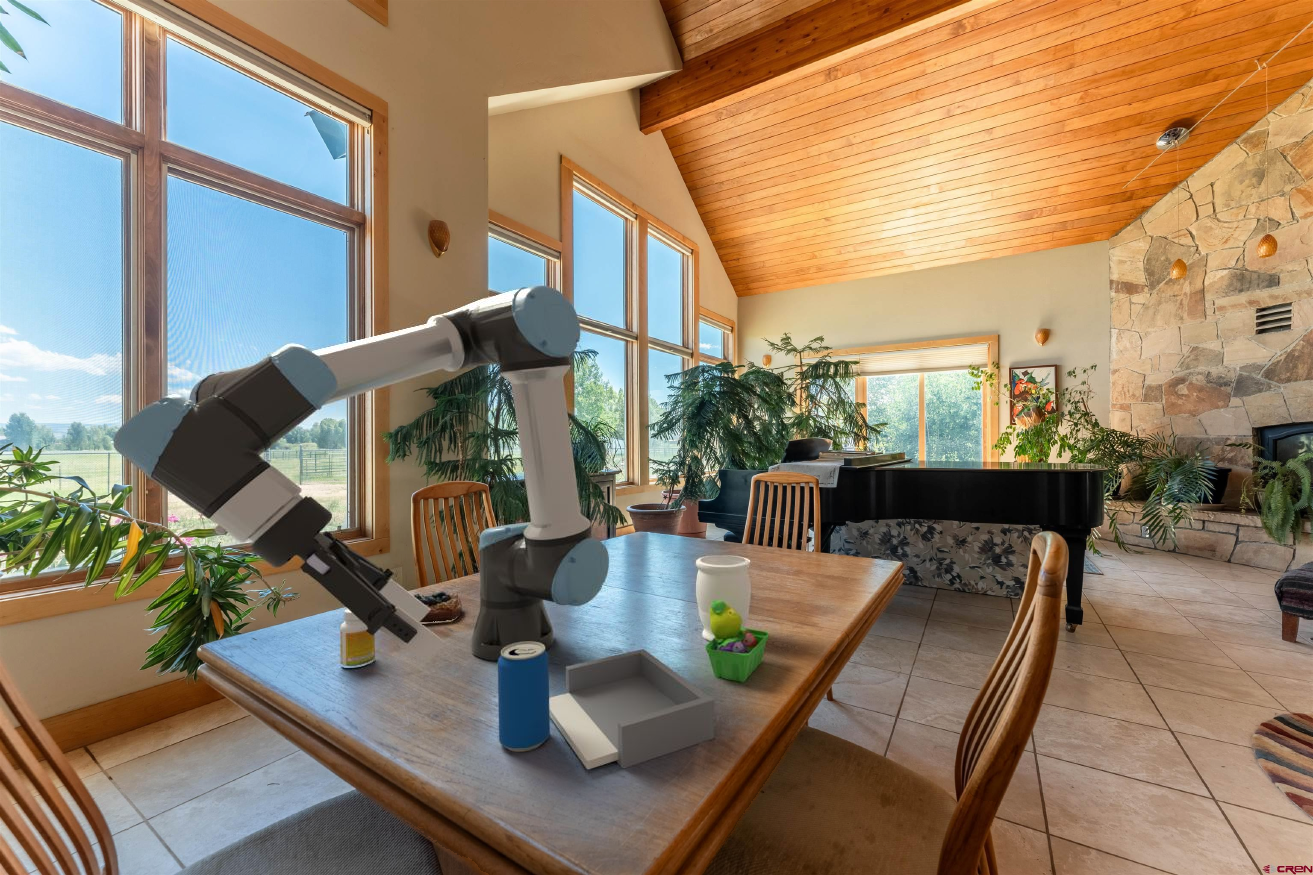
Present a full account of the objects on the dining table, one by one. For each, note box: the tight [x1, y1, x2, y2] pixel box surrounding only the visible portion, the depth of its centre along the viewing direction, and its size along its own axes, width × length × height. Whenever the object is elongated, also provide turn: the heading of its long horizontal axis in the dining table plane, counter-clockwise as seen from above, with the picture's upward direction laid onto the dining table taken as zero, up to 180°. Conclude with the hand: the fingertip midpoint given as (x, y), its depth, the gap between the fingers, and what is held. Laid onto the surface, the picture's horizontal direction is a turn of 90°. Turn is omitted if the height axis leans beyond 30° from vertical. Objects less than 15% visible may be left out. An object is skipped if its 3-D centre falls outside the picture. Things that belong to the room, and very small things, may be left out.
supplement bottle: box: [339, 608, 376, 666], centre depth 98 cm, size 5×5×10 cm
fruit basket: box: [705, 600, 770, 683], centre depth 93 cm, size 11×9×11 cm
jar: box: [695, 554, 752, 642], centre depth 108 cm, size 11×10×15 cm
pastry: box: [413, 591, 463, 622], centre depth 123 cm, size 11×12×6 cm
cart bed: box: [549, 648, 715, 770], centre depth 77 cm, size 20×17×5 cm
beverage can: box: [497, 641, 551, 753], centre depth 72 cm, size 6×6×12 cm
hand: (428, 633), depth 67 cm, fingers open, 13 cm apart
